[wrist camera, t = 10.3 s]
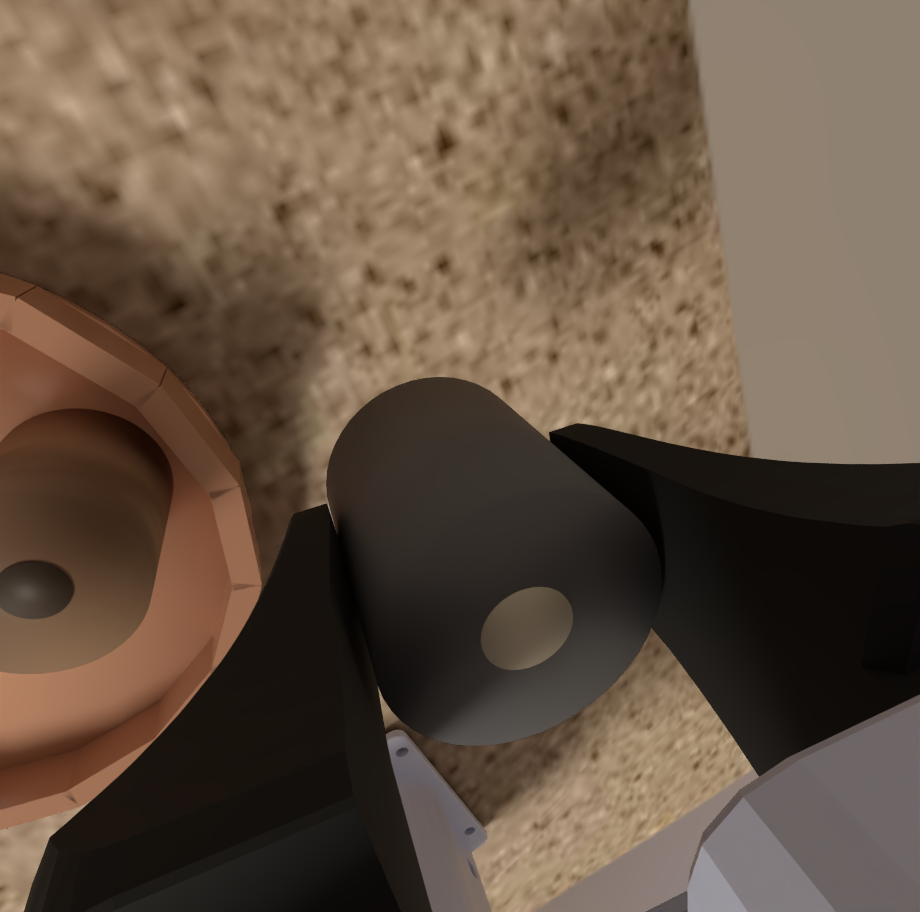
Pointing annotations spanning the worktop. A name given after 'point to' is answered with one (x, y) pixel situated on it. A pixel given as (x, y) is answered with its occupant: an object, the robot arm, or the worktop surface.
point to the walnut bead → (77, 537)
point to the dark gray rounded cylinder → (484, 565)
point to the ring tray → (178, 575)
